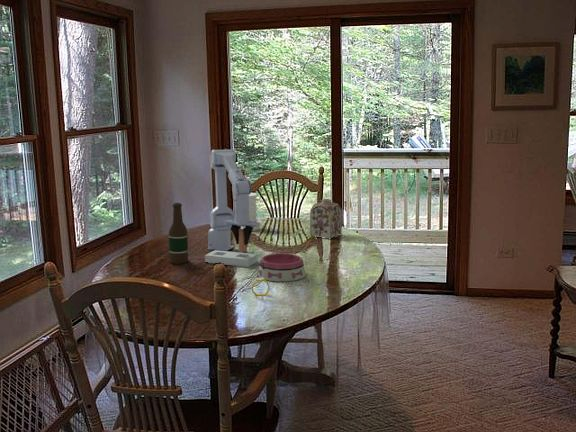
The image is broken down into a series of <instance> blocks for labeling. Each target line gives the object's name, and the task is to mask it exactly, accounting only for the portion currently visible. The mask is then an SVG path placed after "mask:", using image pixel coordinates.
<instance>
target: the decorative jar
mask: <svg viewBox="0 0 576 432" xmlns="http://www.w3.org/2000/svg"><path fill="white" fill-rule="evenodd" d="M309 211H310V212H309V213H310V214H309V236H316V237H325V238H331V237H334V236H336V235H338V234H341V235H342V229H343V225H342V224H343V223H342V221H343V218H342V217H343V209H342V207H341V206H340V204H338V203H336V202H333V201H332V199H331V198H323V199H321V201H319V202H315V203H313V205H312V206H311V208H310V210H309ZM316 237H315V238H316Z"/></svg>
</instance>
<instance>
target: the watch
mask: <svg viewBox="0 0 576 432" xmlns="http://www.w3.org/2000/svg"><path fill="white" fill-rule="evenodd" d="M257 282H260V283H261V282H264V283H266V285H267V290H266V291H265V292H264V293H257V292H255V290H254V285H255V284H256V283H257ZM251 291H252V294H253V295H254V296H257V297H259V296H260V297H264V296H266V295H267V294H268V293H269V291H270V284H269V281H266V280H264V278H262V277H260V278H258V277H256V278H255V280H254V281H253V282H252V284H251Z"/></svg>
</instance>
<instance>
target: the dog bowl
mask: <svg viewBox="0 0 576 432" xmlns="http://www.w3.org/2000/svg"><path fill="white" fill-rule="evenodd" d="M256 276H257V277H256V278H260V277H262V278H264V280H266V281H267V282H268V283H269V282H271V283H293V282H294V283H295V282H299V281H302V280H304V279H305V278H306V277H307V272H306V269H305V264H304V259H303V258H302V257H301V256H299V255H297V254H292V253H285V252H282V253H281V252H279V253H271V254H266V255H264V256H262V257H261V259H260V261H259V265H258V270H257V273H256Z"/></svg>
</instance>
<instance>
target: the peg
mask: <svg viewBox="0 0 576 432" xmlns="http://www.w3.org/2000/svg"><path fill="white" fill-rule="evenodd" d="M238 233H239V244H238V252H239V253H247V245H245V243H244V231H243V229H238Z"/></svg>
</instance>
